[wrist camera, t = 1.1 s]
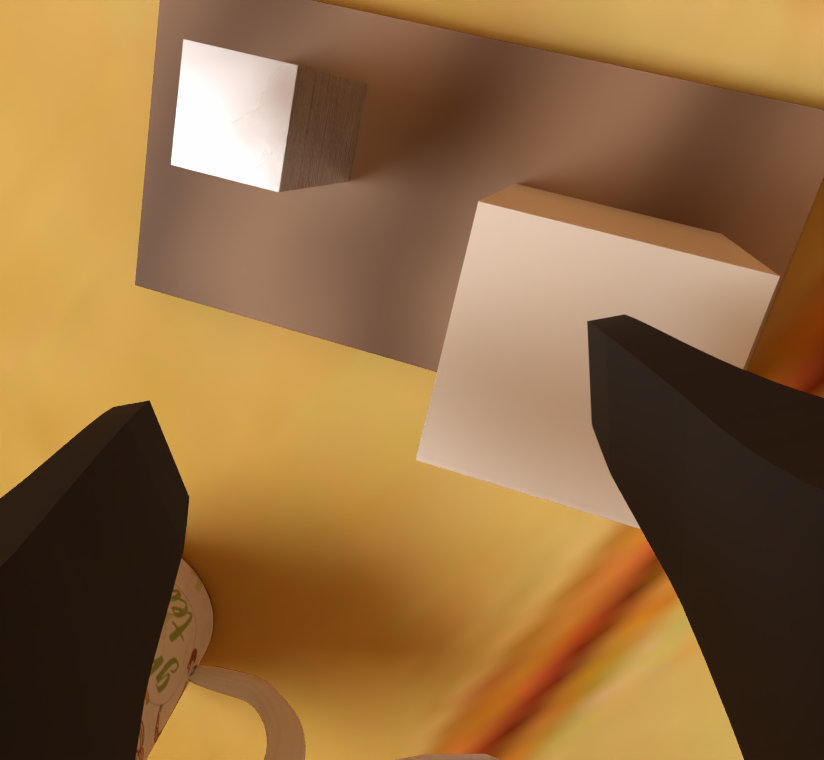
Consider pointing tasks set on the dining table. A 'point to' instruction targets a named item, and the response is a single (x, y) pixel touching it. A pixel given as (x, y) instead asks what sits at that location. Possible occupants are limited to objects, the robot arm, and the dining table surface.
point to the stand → (449, 169)
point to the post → (265, 120)
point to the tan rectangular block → (570, 334)
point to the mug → (208, 675)
